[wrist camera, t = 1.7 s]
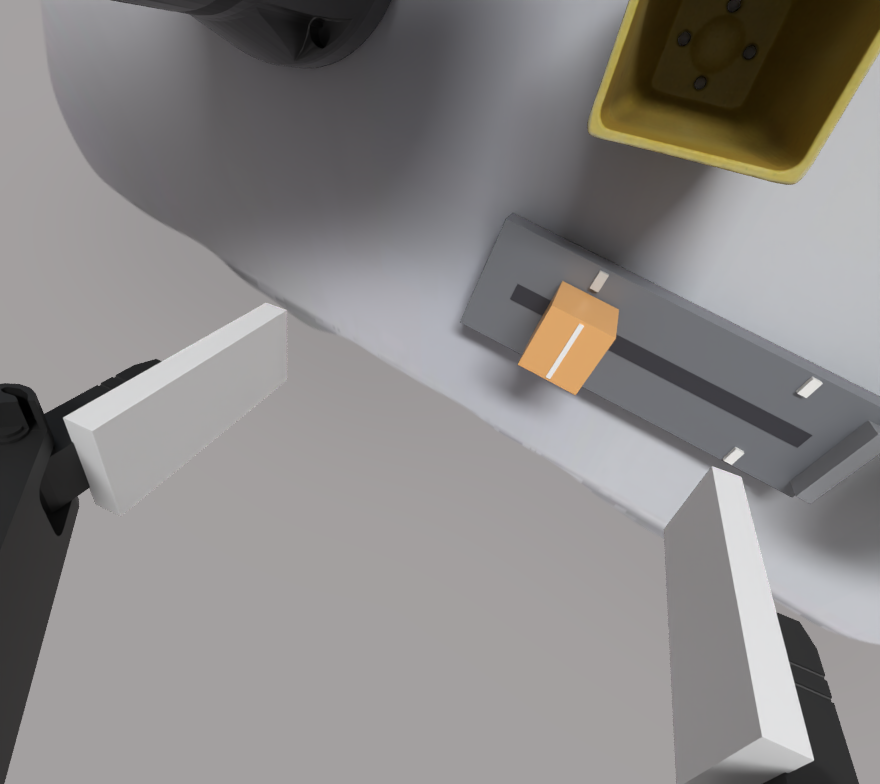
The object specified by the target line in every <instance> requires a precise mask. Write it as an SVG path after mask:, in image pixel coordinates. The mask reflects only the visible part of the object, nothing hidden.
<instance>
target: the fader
mask: <svg viewBox="0 0 880 784" xmlns="http://www.w3.org/2000/svg"><path fill="white" fill-rule="evenodd" d="M618 315H619V309H617V308H615V307H613V306H611V305H609V304H607V303H605V302H603V301H601V300H599V299H597V298H595V297H593V296H591V295H589V294H587V293H585V292H583V291H581V290H580V289H578V288H576V287H574V286H572V285H570V284H568V283H566V282H564V281H562V283H561V284H560V286H559V288H558V290H557V291H556V293H555V295H554V297H553V299H552V300H551V302H550V304H549V306H548V307H547V309H546V311H545V313H544V314H543V316H542V318H541V320H540V321H539V323H538V325H537V327H536V328H535V330H534V332H533V334H532V335H531V337H530V340H529V342H528V344H527V346H526V348H525V350H524V352H523V354H522V357H521V359H520V361H519V363H518V365H520V366H521V367H523V368H525V369H527V370H529V371H531V372H533V373H535V374H536V375H538V376H540V377H542V378H544V379H546V380H548V381H550V382H552V383H553V384H555V385H557V386H559V387H561V388H563V389H565V390H567V391H569V392H570V393H572V394H574V395H576V394H577V392H578V391H579V390H580V388H581V387H582V385H583V384H584V383H585V381H586V380H587V378H588V377H589V376H590V374H591V373H592V371H593V370H594V369H595V367H596V366H597V364H598V363H599V361H600V360H601V359H602V357H603V356H604V354H605V353H606V352H607V350H608V349H609V347H610V346H611V345H612V343H613V342H614V340H615V339H616V333H617V324H618Z"/></svg>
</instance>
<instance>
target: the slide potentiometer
mask: <svg viewBox="0 0 880 784" xmlns="http://www.w3.org/2000/svg"><path fill="white" fill-rule="evenodd" d="M562 281H564V282H566V283H568V284H570V285H572V286H574V287H576V288H578V289H580V290H581V291H583V292H585V293H587V294H589V295H591V296H593V297H595V298H597V299H599V300H601V301H603V302H605V303H607V304H609V305H611V306H613V307H615V308H617V309H619V315H618V324H617V333H616V339H615V340H614V342H613V343H612V345H611V346H610V347H609V349H608V350H607V352H606V353H605V354H604V356H603V357H602V359H601V360H600V361H599V363H598V364H597V366H596V367H595V369H594V370H593V371H592V373H591V374H590V376H589V377H588V378H587V380H586V381H585V383H584V384H583V385H582V387H584V388H585V389H587V390H589V391H591V392H593V393H595V394H597V395H599V396H601V397H602V398H604V399H606V400H608V401H610V402H612V403H614V404H616V405H618V406H620V407H621V408H623V409H625V410H627V411H629V412H631V413H633V414H635V415H637V416H639V417H640V418H642V419H644V420H646V421H648V422H650V423H652V424H654V425H656V426H657V427H659V428H661V429H663V430H665V431H667V432H669V433H671V434H673V435H675V436H676V437H678V438H680V439H682V440H684V441H686V442H688V443H690V444H692V445H694V446H695V447H697V448H699V449H701V450H703V451H705V452H707V453H709V454H711V455H712V456H714V457H716V458H718V459H720V460H722V461H724V462H726V463H728V464H730V465H731V466H733V467H735V468H737V469H739V470H741V471H743V472H745V473H747V474H749V475H750V476H752V477H754V478H756V479H758V480H760V481H762V482H764V483H766V484H767V485H769V486H771V487H773V488H775V489H777V490H779V491H781V492H783V493H785V494H786V495H788V496H790V497H793V496H796V497H798V498H800V499H802V500H804V501H805V502H807V503H809V504H811V503H812V502H814V501H815V500H816V499H818V498H819V497H821V496H822V495H823V494H825V493H826V492H827V491H829V490H830V489H832V488H833V487H834V486H836V485H837V484H839V483H840V482H841V481H843V480H844V479H846V478H847V477H848V476H850V475H851V474H852V473H854V472H855V471H857V470H858V469H859V468H861V467H862V466H864V465H865V464H866V463H868V462H869V461H871V460H872V459H873V458H875V457H876V456H877V455H879V454H880V396H878V395H876V394H874V393H872V392H870V391H868V390H866V389H864V388H862V387H860V386H858V385H856V384H854V383H852V382H850V381H848V380H846V379H844V378H842V377H840V376H838V375H836V374H834V373H832V372H830V371H828V370H826V369H824V368H822V367H820V366H818V365H816V364H814V363H812V362H810V361H808V360H806V359H804V358H802V357H800V356H798V355H796V354H794V353H792V352H790V351H788V350H786V349H784V348H782V347H780V346H778V345H776V344H774V343H772V342H770V341H768V340H766V339H764V338H762V337H760V336H758V335H756V334H754V333H752V332H750V331H748V330H746V329H744V328H742V327H740V326H738V325H736V324H734V323H732V322H730V321H728V320H726V319H724V318H722V317H720V316H718V315H716V314H714V313H712V312H710V311H708V310H706V309H704V308H702V307H700V306H698V305H696V304H694V303H692V302H690V301H688V300H686V299H684V298H682V297H680V296H678V295H676V294H674V293H672V292H670V291H668V290H666V289H664V288H662V287H660V286H658V285H656V284H654V283H652V282H650V281H648V280H646V279H644V278H642V277H640V276H638V275H636V274H634V273H632V272H630V271H628V270H626V269H624V268H622V267H620V266H618V265H616V264H614V263H612V262H610V261H608V260H606V259H604V258H602V257H600V256H598V255H596V254H594V253H592V252H590V251H588V250H586V249H584V248H582V247H580V246H578V245H576V244H574V243H572V242H570V241H568V240H566V239H564V238H562V237H560V236H558V235H556V234H554V233H552V232H550V231H548V230H546V229H544V228H542V227H540V226H538V225H536V224H534V223H532V222H530V221H528V220H526V219H524V218H522V217H520V216H518V215H516V214H514V213H512V214H511V215H510V216H509V217H508V218H507V219H506V220H505V222H504V225H503V227H502V229H501V231H500V234H499V236H498V238H497V240H496V243H495V245H494V247H493V249H492V252H491V254H490V256H489V258H488V260H487V263H486V265H485V267H484V269H483V272H482V274H481V276H480V278H479V281H478V283H477V285H476V287H475V290H474V292H473V294H472V296H471V299H470V301H469V303H468V305H467V307H466V310H465V312H464V314H463V316H462V319H461V321H460V323H462V324H464V325H466V326H468V327H470V328H472V329H474V330H475V331H477V332H479V333H481V334H483V335H485V336H487V337H489V338H491V339H493V340H494V341H496V342H498V343H500V344H502V345H504V346H506V347H508V348H510V349H511V350H513V351H515V352H517V353H519V354H521V355H522V354H523V352H524V350H525V348H526V346H527V344H528V342H529V340H530V337H531V335H532V334H533V332H534V330H535V328H536V327H537V325H538V323H539V321H540V320H541V318H542V316H543V314H544V313H545V311H546V309H547V307H548V306H549V304H550V302H551V300H552V299H553V297H554V295H555V293H556V291H557V290H558V288H559V286H560V284H561V283H562Z"/></svg>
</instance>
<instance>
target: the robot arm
mask: <svg viewBox="0 0 880 784" xmlns="http://www.w3.org/2000/svg"><path fill="white" fill-rule="evenodd" d="M112 1H118V2H124V3H129V4H135V5H141V6H146V7H152V8H157V9H163V10H169V11H176V12H181V13H186V14H190V15H191V16H193V17H194V18H195V19H197V20H198V21H200V22H201V23H203V24H204V25H206V26H207V27H208V28H210V29H211V30H213V31H214V32H216V33H217V34H218V35H220V36H221V37H223V38H224V39H226V40H227V41H228V42H230V43H231V44H233V45H234V46H236V47H237V48H239V49H240V50H242V51H243V52H245V53H247V54H249V55H250V56H253V57H255V58H257V59H259V60H262V61H265V62H268V63H271V64H275V65H281V66H289V67H299V68H315V67H321V66H325V65H329V64H332V63H334V62H336V61H339V60H341V59H342V58H344V57H346V56H347V55H349V54H350V53H352V52H353V51H354V50H355V49H357V48H358V47H359V46H360V45H361V44H362V43H363V42H364V41H365V40H366V39H367V38H368V37H369V35H370V34H371V33H372V32H373V30H374V29H375V28H376V26H377V25H378V23H379V22H380V20H381V18H382V17H383V15H384V13H385V11H386V10H387V8H388V6H389V3H390V1H391V0H112ZM286 381H287V310H285V309H283V308H280V307H277V306H274V305H272V304H269V303H264V304H262V305H261V306H259V307H257V308H255V309H254V310H252V311H250V312H248V313H247V314H245V315H243V316H241V317H240V318H238V319H236V320H234V321H233V322H231V323H229V324H227V325H225V326H224V327H222V328H220V329H218V330H217V331H215V332H213V333H212V334H210V335H208V336H206V337H204V338H202V339H201V340H199V341H197V342H196V343H194V344H192V345H190V346H188V347H187V348H185V349H183V350H181V351H180V352H178V353H176V354H174V355H173V356H171V357H169V358H167V359H165V360H164V361H160V360H157V359H155V360H151V361H148V362H144V363H140V364H137V365H134V366H132V367H130V368H128V369H126V370H124V371H123V372H121V373H119V374H117V375H116V377H115V378H113V377H111V378H110V379H108V380H106V381H104V382H102V383H101V385H100V386H98V385H97V386H95V387H93V388H91V389H89V390H88V391H86V392H84V393H82V394H80V395H78V396H77V397H75V398H73V399H71V400H69V401H67V402H66V403H64V404H62V405H60V406H58V407H56V408H55V409H53V410H51V411H49V412H47V413H45V414H44V413H43V411H42V408H41V406H40V403H39V401H38V399H37V396H36V394H35V393H34V391H33V390H32V389H31V388H29V387H26V386H23V385H20V384H6V383H5V384H0V784H4V782H5V779H6V775H7V772H8V768H9V764H10V760H11V756H12V753H13V749H14V745H15V742H16V738H17V735H18V731H19V727H20V723H21V720H22V715H23V712H24V708H25V705H26V701H27V697H28V694H29V690H30V686H31V683H32V679H33V675H34V672H35V668H36V664H37V660H38V657H39V653H40V649H41V646H42V642H43V638H44V634H45V631H46V627H47V623H48V620H49V616H50V612H51V609H52V605H53V601H54V597H55V594H56V590H57V586H58V583H59V579H60V575H61V572H62V568H63V564H64V560H65V557H66V553H67V549H68V546H69V542H70V538H71V534H72V531H73V527H74V523H75V520H76V516H77V512H78V509H79V499H78V497H77V496H78V495H80V494H81V493H82V492H84V491H85V490H87V489H88V488H90V491H91V493H92V496H93V499H94V502H95V504H97V505H99V506H100V507H102V508H105V509H107V510H109V511H111V512H113V513H115V514H117V515H119V516H122V515H123V514H124V513H126V512H127V511H128V510H130V509H131V508H132V507H133V506H134V505H135V504H137V503H138V502H139V501H141V500H142V499H143V498H144V497H145V496H147V495H148V494H149V493H150V492H152V491H153V490H154V489H155V488H156V487H157V486H159V485H160V484H161V483H162V482H164V481H165V480H166V479H167V478H168V477H170V476H171V475H172V474H173V473H175V472H176V471H177V470H178V469H180V468H181V467H182V466H183V465H184V464H186V463H187V462H188V461H189V460H190V459H192V458H193V457H194V456H195V455H197V454H198V453H199V452H200V451H202V450H203V449H204V448H205V447H206V446H208V445H209V444H210V443H211V442H212V441H214V440H215V439H216V438H217V437H218V436H220V435H221V434H222V433H223V432H225V431H226V430H227V429H228V428H230V427H231V426H232V425H233V424H234V423H235V422H237V421H238V420H239V419H241V418H242V417H243V416H244V415H245V414H247V413H248V412H249V411H250V410H251V409H253V408H254V407H255V406H256V405H257V404H259V403H260V402H261V401H262V400H264V399H265V398H266V397H267V396H269V395H270V394H271V393H272V392H273V391H275V390H276V389H277V388H278V387H280V386H281V385H282V384H283V383H284V382H286ZM664 545H665V565H666V586H667V604H668V626H669V645H670V667H671V687H672V707H673V726H674V746H675V768H676V784H859V782H858V779H857V776H856V773H855V769H854V766H853V763H852V760H851V757H850V753H849V750H848V747H847V744H846V741H845V738H844V735H843V732H842V728H841V725H840V721H839V718H838V715H837V712H836V709H835V705H834V703H832V702H831V698H832V696H831V693H830V690H829V686H828V683H827V681H826V680H824V676H825V673H824V670H823V667H822V664H821V661H820V657H819V654H818V651H817V648H816V647H815V645H814V644H813V643H812V641H811V639H810V637H809V636H808V634H807V633H806V631H805V630H804V628H803V627H802V625H801V624H800V622H799V621H796V620H794V619H791V618H789V617H787V616H784V615H782V614H779V613H777V612H776V609H775V605H774V602H773V598H772V594H771V590H770V586H769V582H768V578H767V574H766V570H765V567H764V563H763V559H762V555H761V551H760V547H759V543H758V539H757V535H756V531H755V528H754V524H753V520H752V516H751V512H750V508H749V504H748V500H747V496H746V492H745V489H744V485H743V481H742V477H740V476H738V475H735V474H732V473H729V472H727V471H724V470H721V469H719V468H716V467H713V466H712V467H711V468H710V469H709V471H708V472H707V473H706V475H705V476H704V477H703V478H702V480H701V481H700V482H699V484H698V485H697V486H696V488H695V489H694V490H693V492H692V493H691V494H690V496H689V497H688V498H687V500H686V501H685V502H684V503H683V505H682V506H681V507H680V509H679V510H678V511H677V513H676V514H675V515H674V517H673V518H672V519H671V521H670V522H669V523H668V525H667V526H666V527H665V528H664Z"/></svg>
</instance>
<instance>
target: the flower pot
mask: <svg viewBox="0 0 880 784" xmlns="http://www.w3.org/2000/svg"><path fill="white" fill-rule="evenodd" d="M729 1H730V0H629V2H628V5H627V8H626V11H625V14H624V17H623V20H622V23H621V26H620V29H619V32H618V35H617V38H616V41H615V44H614V47H613V49H612V52H611V55H610V58H609V61H608V64H607V67H606V70H605V73H604V76H603V78H602V81H601V84H600V87H599V90H598V93H597V95H596V98H595V101H594V104H593V107H592V110H591V112H590V116H589V119H588V123H587V126H588V133H589V134H590V135H592V136H593V137H596V138H599V139H603V140H608V141H612V142H617V143H621V144H625V145H630V146H633V147H637V148H642V149H646V150H650V151H654V152H658V153H662V154H666V155H670V156H674V157H678V158H682V159H686V160H689V161H693V162H697V163H701V164H705V165H709V166H713V167H718V168H721V169H725V170H729V171H733V172H736V173H740V174H744V175H748V176H752V177H756V178H759V179H763V180H767V181H770V182H775V183H780V184H786V185H791V184H795V183H797V182H798V181H800V180H801V179H802V178H803V177H804V176H805V174H806V173H807V171H808V170H809V169H810V167H811V166H812V164H813V163H814V161H815V159H816V157H817V156H818V154H819V152H820V150H821V149H822V147H823V146H824V144H825V142H826V141H827V139H828V137H829V136H830V134H831V133H832V131H833V129H834V128H835V126H836V124H837V122H838V121H839V119H840V118H841V116H842V114H843V112H844V111H845V109H846V107H847V106H848V104H849V102H850V101H851V99H852V97H853V95H854V94H855V92H856V90H857V89H858V87H859V85H860V84H861V82H862V80H863V79H864V77H865V76H866V74H867V72H868V71H869V69H870V68H871V66H872V64H873V63H874V61H875V59H876V58H877V56H878V54H879V53H880V0H741V5H740V8H739V9H738V10H737V11H735V12H730V11H729V10H728V9H727V6H728V3H729ZM684 32H689V33H690V35H691V38H690V41H689V42H688V44H686V45H680V44H679V43H678V38H679V36H680V35H681V34H682V33H684ZM751 45H753V46H755V47H756V54H755V56H754V57H753V58H751V59H745V58H744V56H743V52H744V50H745V49H746V48H747V47H748V46H751ZM701 76H704V77H705V78H706V85H705V86H704V87H703V88H702V89H696V88H695V87H694V83H695V81H696V79H697V78H698V77H701Z"/></svg>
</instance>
